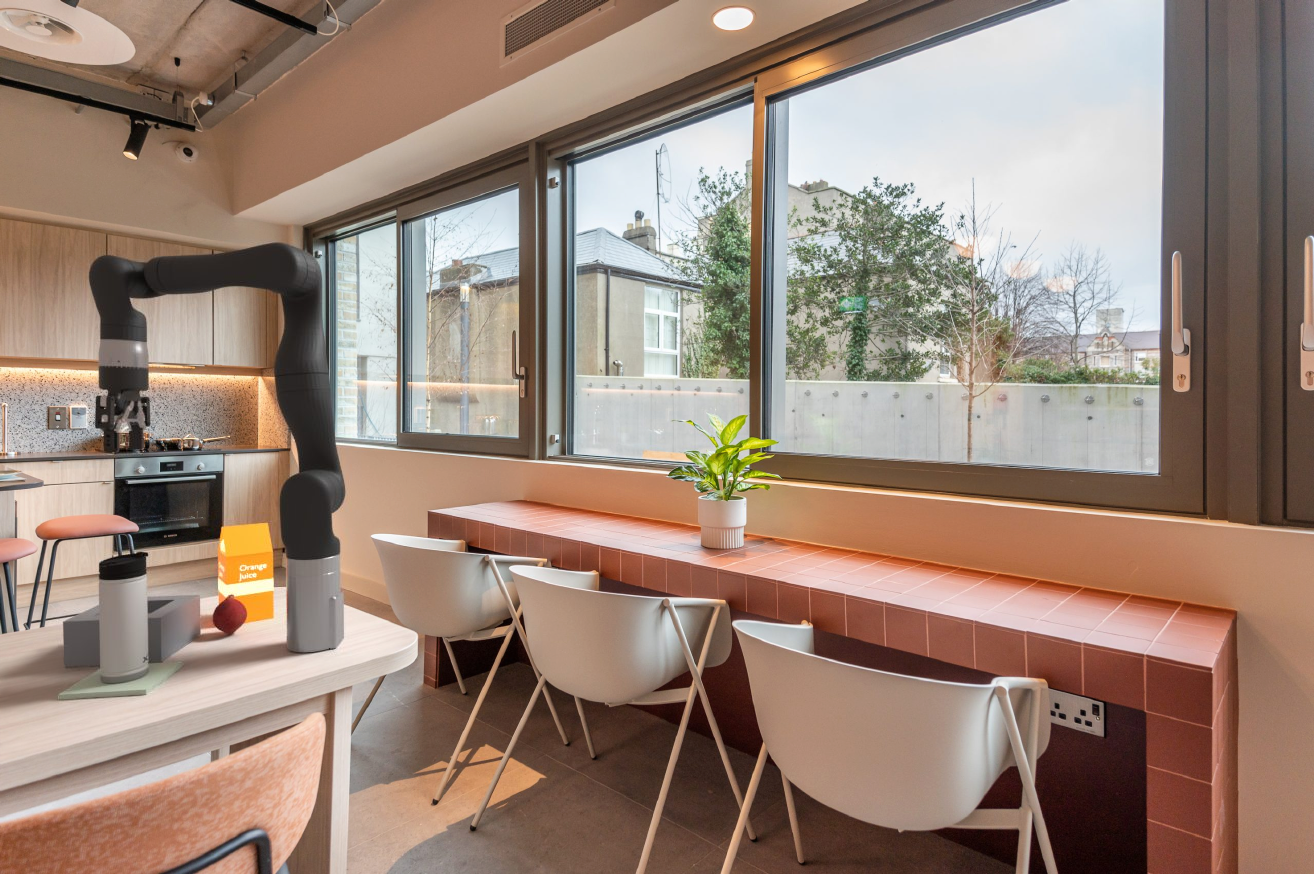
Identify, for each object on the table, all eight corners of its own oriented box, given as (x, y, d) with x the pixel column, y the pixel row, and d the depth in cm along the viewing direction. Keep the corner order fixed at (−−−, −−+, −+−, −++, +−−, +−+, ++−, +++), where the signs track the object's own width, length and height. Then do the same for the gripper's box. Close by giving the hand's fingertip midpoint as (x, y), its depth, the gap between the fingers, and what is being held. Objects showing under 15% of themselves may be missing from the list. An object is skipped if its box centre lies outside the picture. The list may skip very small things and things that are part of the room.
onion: (230, 640, 134) (230, 599, 133) (205, 637, 135) (204, 597, 135) (254, 630, 139) (253, 591, 139) (229, 628, 141) (228, 589, 140)
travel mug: (159, 672, 115) (157, 553, 114) (114, 686, 109) (112, 561, 108) (136, 666, 118) (134, 549, 117) (91, 679, 112) (89, 557, 111)
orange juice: (218, 617, 148) (217, 524, 147) (264, 609, 154) (263, 520, 153) (226, 626, 142) (225, 529, 141) (274, 618, 148) (273, 525, 147)
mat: (183, 666, 120) (183, 661, 120) (146, 694, 109) (146, 689, 109) (104, 670, 118) (104, 665, 118) (58, 699, 106) (58, 694, 106)
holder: (200, 634, 137) (199, 594, 136) (161, 662, 122) (160, 617, 122) (114, 638, 134) (113, 597, 133) (64, 667, 119) (63, 621, 119)
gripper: (126, 364, 125) (126, 454, 125) (164, 368, 139) (164, 448, 139) (78, 362, 123) (78, 453, 124) (122, 366, 137) (122, 448, 138)
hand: (124, 450), depth 131 cm, fingers open, 8 cm apart
